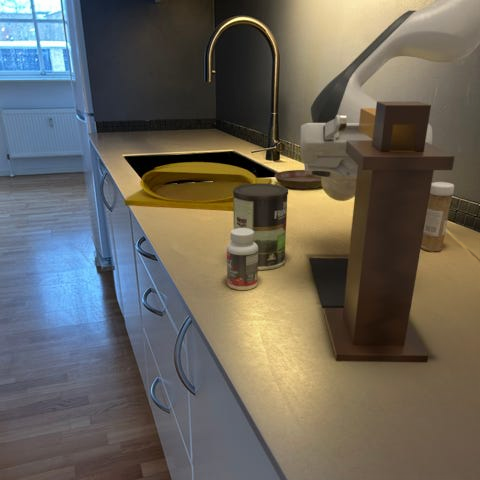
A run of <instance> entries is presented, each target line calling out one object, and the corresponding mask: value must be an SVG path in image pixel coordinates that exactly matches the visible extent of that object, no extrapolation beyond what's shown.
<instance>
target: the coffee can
mask: <svg viewBox="0 0 480 480" xmlns="http://www.w3.org/2000/svg"><path fill="white" fill-rule="evenodd" d="M288 195H289V188H288V187H285V186H282V185H281V184H280V185H279V184H274V183H271V184H265V183H256V184H250V183H245V184H241V185H237V186H234V187H233V188H232V196H233V212H232V213H233V229H237V228H248V229H251V230H253V231H254V241H253V242H255V243H256V244H257V245H258V271H268V270H274V269H277V268H281V267H282V266H284V264H285V263H286V241H287V240H286V239H287V217H288V214H287V213H288Z"/></svg>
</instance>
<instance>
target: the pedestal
mask: <svg viewBox="0 0 480 480" xmlns="http://www.w3.org/2000/svg"><path fill="white" fill-rule="evenodd" d="M346 153H347V154H348V155H349V156H350V157H351V158H352V159H353V160H354V161H355V163H356V164H357V165H358V170H357V179H356V189H355V197H354V198H353V199H354V201H353V210H352V220H351V229H350V239H349V249H348V258H349V259H348V269H347V279H346V288H345V298H344V308H323V316H324V320H325V323H326V327H327V331H328V335H329V340H330V342H331V346H332V351H333V354H334V358H335V361H337V362H338V361H339V362H401V363H402V362H404V363H405V362H407V363H408V362H409V363H411V362H412V363H428V360H429V353H428V352H427V350H426V349H425V348H426V347H424V344H423V343H422V342H421V340H420V338H419V336H418V335H417V333H416V331H415V329H414V328H413V326H412V324H411V323H410V321H409V320H410V316H411V315H410V314H411V309H412V304H413V303H412V302H413V297H414V291H415V285H416V279H417V274H418V267H419V261H420V256H421V255H420V254H421V249H422V248H421V244H422V238H423V232H424V226H425V220H426V214H427V208H428V202H429V196H430V190H431V184H432V183H433V177H434V172H435V171H453V168H454V162H455V158H456V157H455V156H454V155H453V154H451V153H449V152H447V151H445V150H442V149H441V148H439V147H437V146H434V145H433V144H432V145H431V144H429V143H427V142H425V148H424V152H381V151H379V150H378V149H377V148H376V147H374V146H373V145H372V140H347V142H346Z"/></svg>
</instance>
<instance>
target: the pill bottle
mask: <svg viewBox="0 0 480 480" xmlns="http://www.w3.org/2000/svg"><path fill="white" fill-rule="evenodd" d="M229 237H230V238H229V239H230V242H229V243H228V244H227V245H226V282H227V283H226V284H227V286H228V287H229V288H231V289H232V290H237V291H249V290H252V289H254V288H256V287H257V286H258V280H259V270H258V245H257V244H256V243H255V242H253V241H254V231H253V230H251V229H248V228H237V229H234V228H233V229H231V230H230V236H229Z"/></svg>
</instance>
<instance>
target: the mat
mask: <svg viewBox="0 0 480 480" xmlns="http://www.w3.org/2000/svg"><path fill="white" fill-rule="evenodd" d="M348 259H349V257H309V263H310V266H311V270H312V274H313V278H314V281H315V285H316V289H317V294H318V297H319V302H320V304H321V308H322V309H324V308H344V298H345V288H346V279H347V269H348Z"/></svg>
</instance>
